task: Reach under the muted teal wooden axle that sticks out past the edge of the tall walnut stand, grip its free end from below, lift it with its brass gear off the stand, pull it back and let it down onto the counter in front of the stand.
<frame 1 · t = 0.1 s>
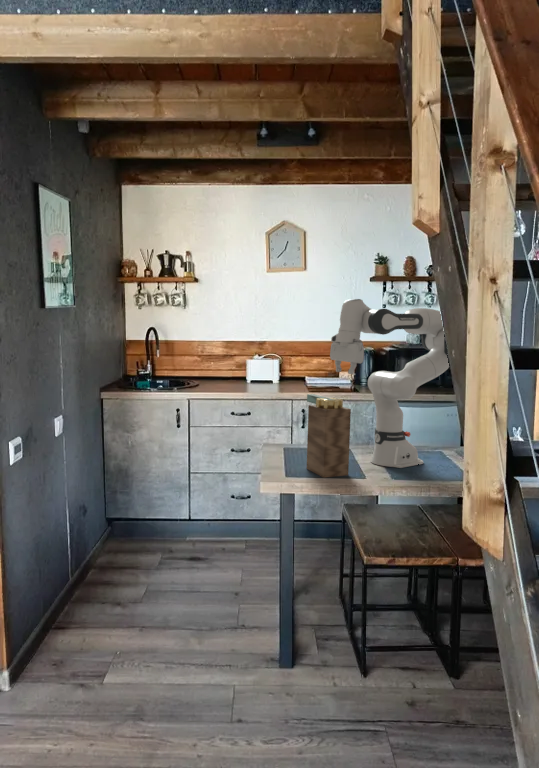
hand: (344, 373, 229), 39 cm above the table, tool pointing down, fingers open, 8 cm apart
gear axle: (323, 405, 226), point 26 cm above the table, touching walnut stand
walnut stand: (327, 471, 225), on the table
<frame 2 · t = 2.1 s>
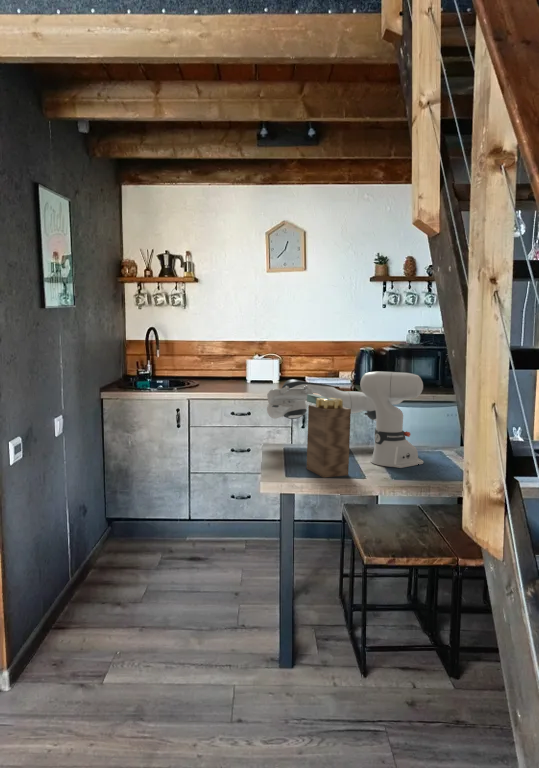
hand: (297, 387, 247), 30 cm above the table, tool pointing upward, fingers open, 8 cm apart
nothing on the table moved.
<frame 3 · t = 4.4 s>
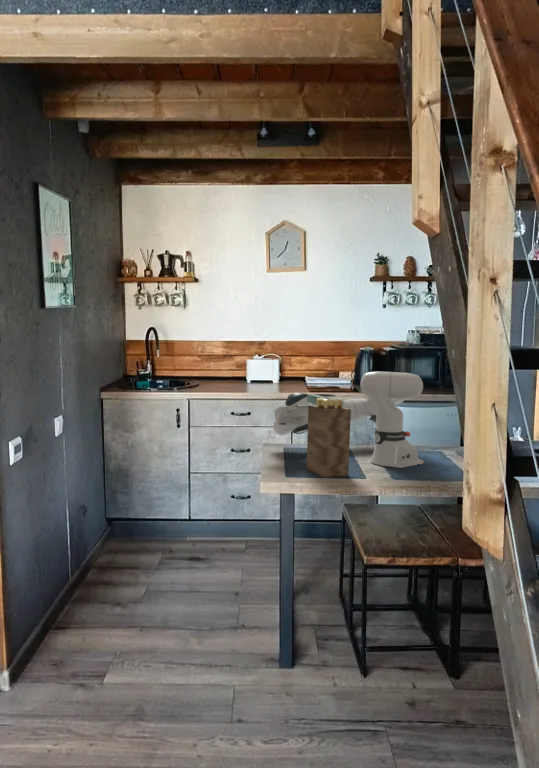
hand: (306, 404, 239), 24 cm above the table, tool pointing upward, fingers open, 8 cm apart
nothing on the table moved.
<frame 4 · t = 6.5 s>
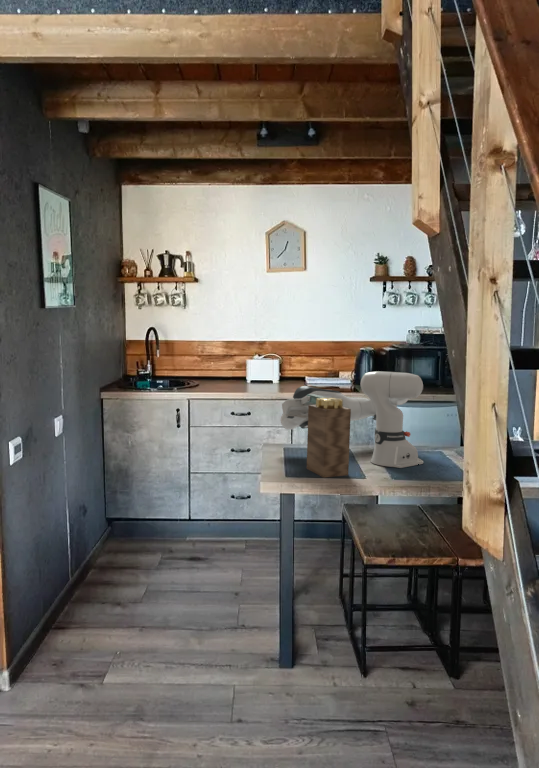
hand: (314, 397, 233), 28 cm above the table, tool pointing upward, fingers closed on gear axle, 3 cm apart
gear axle: (323, 405, 226), point 26 cm above the table, touching gripper, walnut stand
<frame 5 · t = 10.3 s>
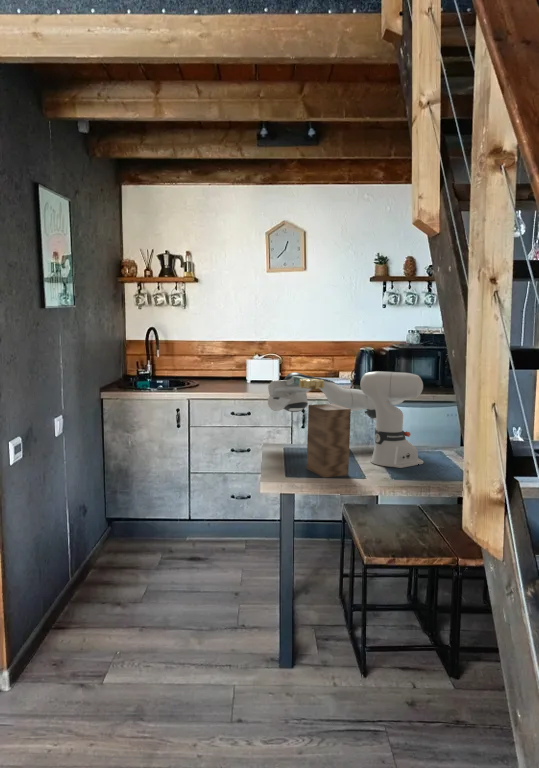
hand: (298, 379, 245), 34 cm above the table, tool pointing upward, fingers closed on gear axle, 3 cm apart
gear axle: (306, 385, 239), point 32 cm above the table, touching gripper
when the fingers open (20 cm above the table, at t = 13.9 s): gear axle drops 18 cm, on the table.
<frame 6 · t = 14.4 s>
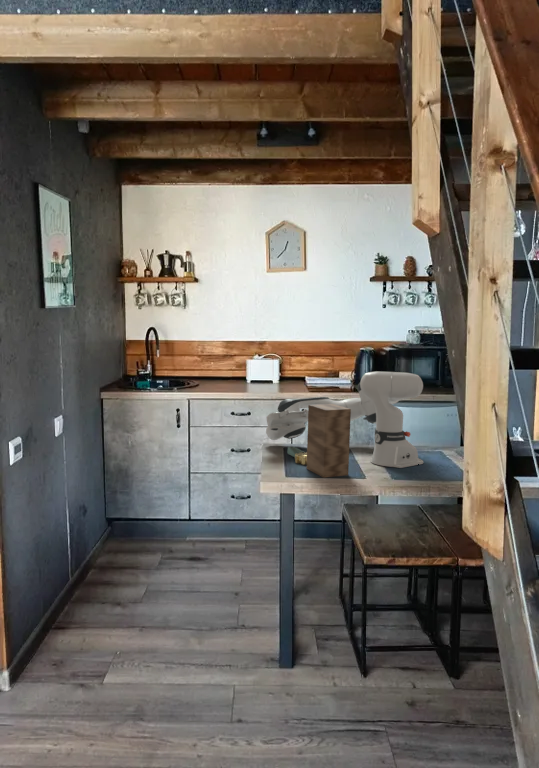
hand: (296, 411, 248), 20 cm above the table, tool pointing upward, fingers open, 8 cm apart
gear axle: (301, 459, 245), on the table
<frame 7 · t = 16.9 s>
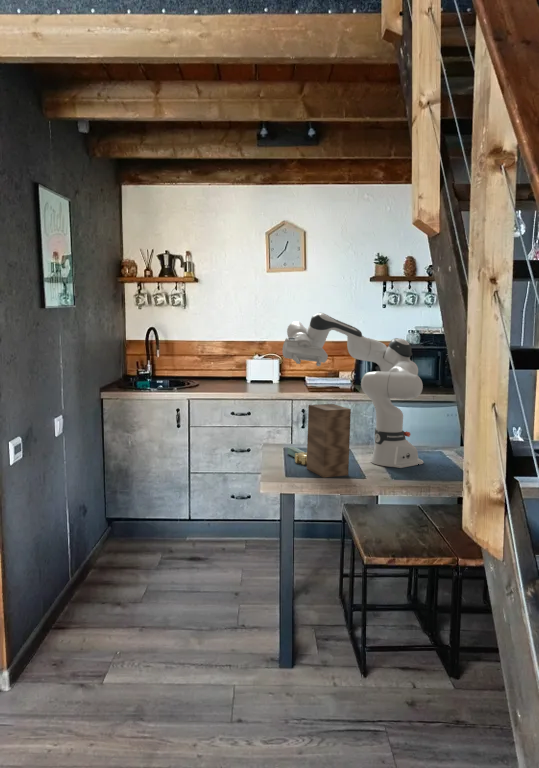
hand: (309, 363, 245), 41 cm above the table, tool tilted 60°, fingers open, 8 cm apart
nothing on the table moved.
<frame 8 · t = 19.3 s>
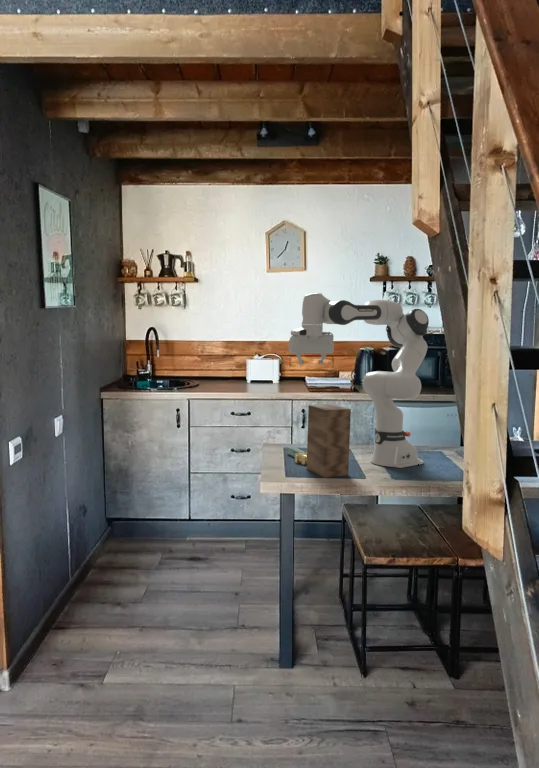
hand: (311, 364, 240), 41 cm above the table, tool pointing down, fingers open, 8 cm apart
nothing on the table moved.
at the end: gear axle touching table; gear axle inside the target area (1.0 cm from its centre), on the table; the gripper is holding nothing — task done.
